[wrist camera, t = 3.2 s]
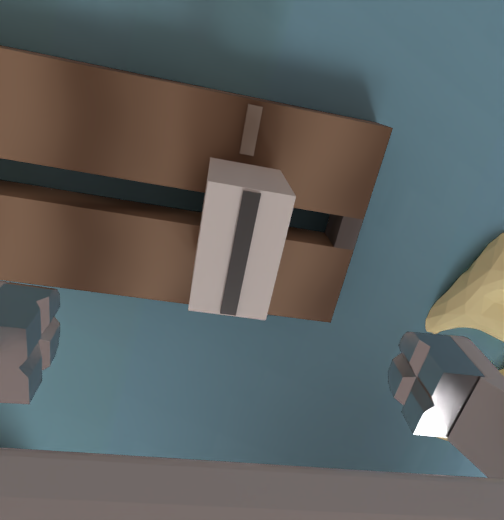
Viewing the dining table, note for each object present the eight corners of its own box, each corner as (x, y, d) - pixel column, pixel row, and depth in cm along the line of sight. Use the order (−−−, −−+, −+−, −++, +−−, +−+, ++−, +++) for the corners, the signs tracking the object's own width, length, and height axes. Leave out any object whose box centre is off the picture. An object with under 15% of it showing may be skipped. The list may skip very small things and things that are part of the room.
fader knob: (275, 162, 19) (296, 197, 14) (254, 259, 21) (266, 321, 16) (211, 150, 19) (207, 181, 13) (195, 250, 21) (188, 311, 15)
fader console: (376, 122, 20) (394, 128, 18) (322, 303, 24) (331, 324, 22) (-199, 4, 16) (-258, -5, 14) (-149, 238, 20) (-189, 257, 18)
